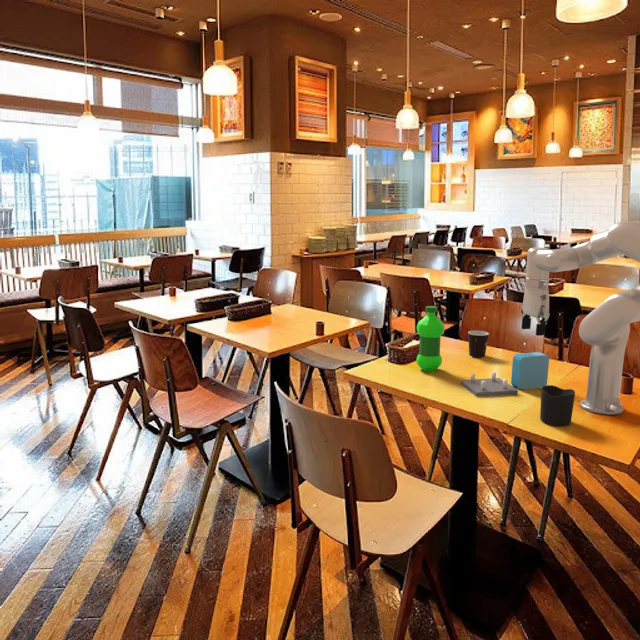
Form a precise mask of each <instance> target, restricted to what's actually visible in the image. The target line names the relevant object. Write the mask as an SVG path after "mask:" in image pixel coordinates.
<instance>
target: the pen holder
mask: <svg viewBox="0 0 640 640" xmlns="http://www.w3.org/2000/svg"><path fill="white" fill-rule="evenodd" d="M540 389H541V390H540V409H539V410H540V411H539V413H540V416H539V418H540V421H541V422H542V423H543V424H545V425H548V426H552V427H559V428H560V427H562V428H563V427H567V426H569V425H570V424H571V423H572V417H573V410H574V402H575V397H576V391H575V389H572V388H569V389H568V388H567V389H564V388H561V387H558V386H557V385H550V384H549V385H548V384H547V385H546V386H543V387H542V388H540Z"/></svg>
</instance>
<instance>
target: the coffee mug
mask: <svg viewBox="0 0 640 640" xmlns="http://www.w3.org/2000/svg"><path fill="white" fill-rule="evenodd" d="M467 336H468V337H467V338H468V339H467V340H468V355H470V356H472V357H471V358H474V357H477V358H476V359H483V358H482V357H484V358H485V357H486V352H487V347H488V341H489V336H490V333H489V332H487V331H483V330H470V331H468V332H467ZM470 356H469V357H470Z"/></svg>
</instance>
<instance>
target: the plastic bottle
mask: <svg viewBox="0 0 640 640" xmlns="http://www.w3.org/2000/svg"><path fill="white" fill-rule="evenodd" d="M425 312H426V315H425V316H424V317H423V318H422V319H421V320H419V321H418V322H417V325H416V333H417V334H418V335H419V342H418V345H419V347H418V348H419V349H418V350H419V351H418V354H417V356H416V360H415V361H416V364H417V366H418V367H419V368H420V369H421V370H422V371H424V372H430V373H431V372H435V371H436V370H437V369H438V368H439V367H441V365H442V364H443V363H442V362H443V358H442V356H441V337H442V335H444V332H445V324H444V322H443V321H442V320H440V319H439V318H438V317H437V316H436V313H438V307H437V306H436V305H427V306H425Z"/></svg>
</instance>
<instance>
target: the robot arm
mask: <svg viewBox="0 0 640 640" xmlns="http://www.w3.org/2000/svg"><path fill="white" fill-rule="evenodd" d="M589 239H590V240H588V241H587V242H583V243H581V244H577V245H574V246H571V247H565V248H564V247H563V248H556V249H555V248H554V249H549V248H548V247H540V246H539V247H531V248H529V249H528V250H527V256H526V270H525V271H526V272H525V283H524V284H525V285H524V288H525V289H524V294H523V301H522V303H520V308H521V310H520V313H521V318H522V319H521V330H531V325H532V318H531V317H533V318H536V319H535V320H536V325H535V327H536V328H535V335H536V336H545V335H546V329H547V328H546V326H547V323H548V321H549V317H550V315H551V314H550V295H549V294H550V293H549V292H550V291H549V283H550V272H551V273H559V272H566V271H567V272H568V271H574V270H577V269H581V268H584V267H587V266H590V265H593V264H596V263H599V262H602V261H605V260H608V259H611V258H614V257H617V256H620V255H624V256H626V258H627V257H628V258H629V259H632V260H634V261H636V262H638V263H640V220H624V221H619V222H617V223H615V224H613V225H612V226H611V227H610V228H608V229H606V230H603V231H600V232H598V233H595V234H593V235H592V236H591V237H590V238H589ZM637 322H640V283H638V284H637V285H635V286H634V287H632V288H631V289H628V290H624V291H619V292H616V293H614V294H611V295H610V296H609V297H607V298H606V299H604V300H603V301H602V302H601V303H600V304H599V305H598V306H596V307H595V308H594V309H593V310H591V312H589V313H588V314H587V315H586V316H585V317H584V318H583V319H582V320H581V321H580V324H579V326H578V335H579V337H580V339H581V341H582V342H584V343H585V344H587V345H590V346H591V351H590V354H589V355H590V357H589V367H588V374H587V375H588V376H587V385H586V386H587V387H586V395H585V398H583V399H582V400H580V401H579V402H580V403H579V405H580V407H581V408H582V409H583V410H586V411H588V412H591V413H594V414H599V415H600V414H601V415H609V416H610V415H619V414H621V413H623V412H624V409H625V406H624V405H622V404H621V400H622V399H621V398H620V395H621V393H620V392H621V387H622V386H621V385H622V376H623V368H624V367H623V366H624V358H625V352H626V347H627V343H628V340H629V336H630V333H631V324H632V323H637Z"/></svg>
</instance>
